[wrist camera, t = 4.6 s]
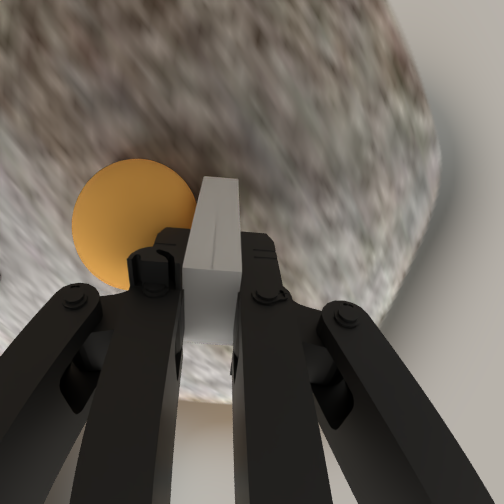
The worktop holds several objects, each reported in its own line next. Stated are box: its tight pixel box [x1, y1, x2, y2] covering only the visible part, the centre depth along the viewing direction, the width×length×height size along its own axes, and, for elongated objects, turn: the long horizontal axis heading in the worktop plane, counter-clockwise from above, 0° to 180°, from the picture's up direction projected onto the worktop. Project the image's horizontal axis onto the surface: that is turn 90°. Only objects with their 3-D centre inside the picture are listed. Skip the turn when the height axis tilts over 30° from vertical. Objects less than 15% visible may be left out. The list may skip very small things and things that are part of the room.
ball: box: [72, 159, 197, 290], centre depth 13 cm, size 6×6×6 cm
